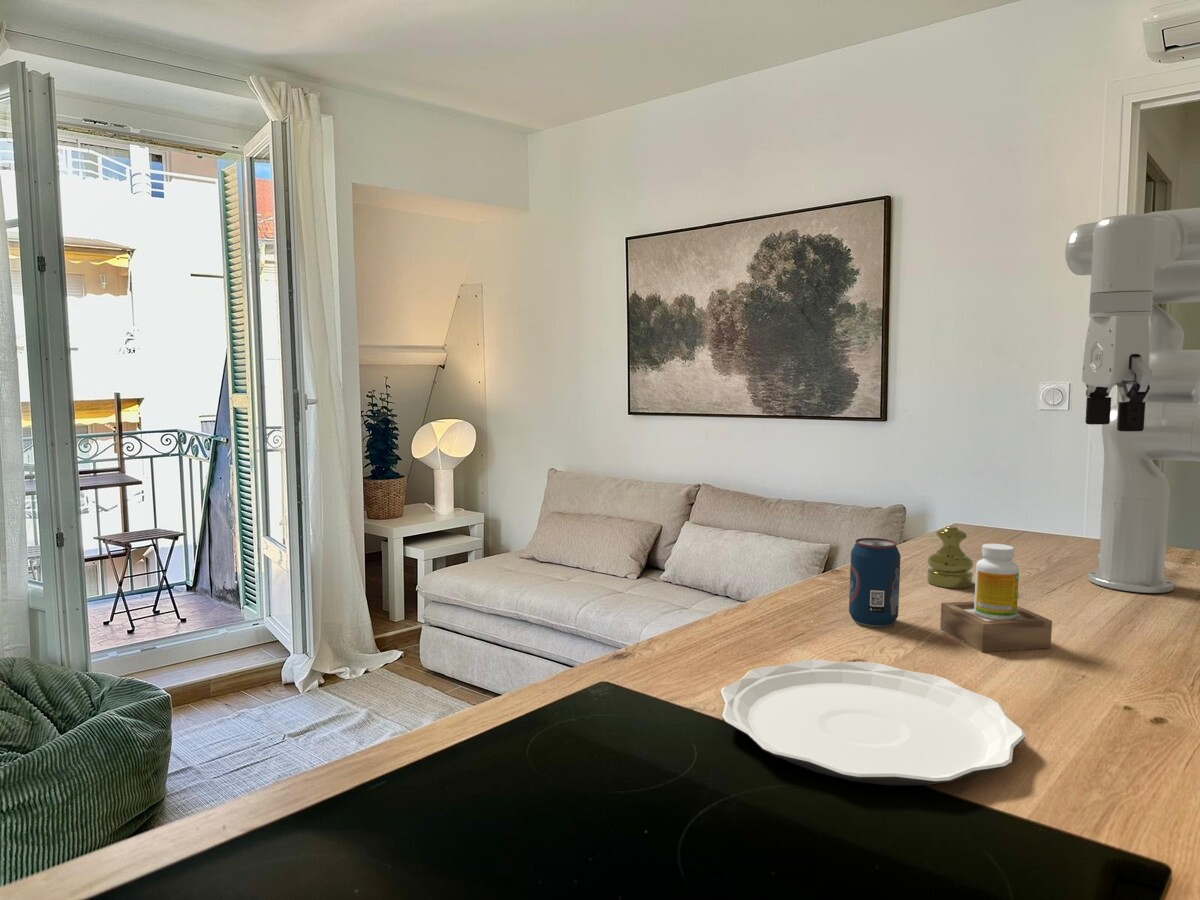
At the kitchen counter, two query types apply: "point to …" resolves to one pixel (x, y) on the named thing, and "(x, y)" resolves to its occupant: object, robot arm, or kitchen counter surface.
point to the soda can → (874, 582)
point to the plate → (871, 722)
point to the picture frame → (996, 628)
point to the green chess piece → (950, 561)
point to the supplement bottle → (996, 583)
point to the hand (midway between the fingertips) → (1113, 427)
